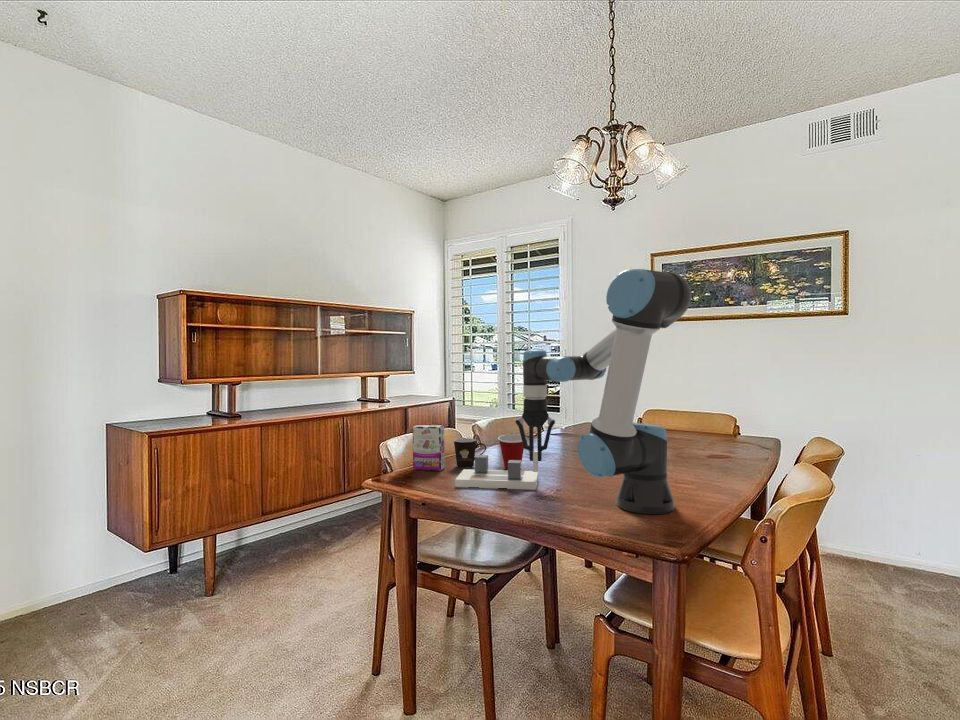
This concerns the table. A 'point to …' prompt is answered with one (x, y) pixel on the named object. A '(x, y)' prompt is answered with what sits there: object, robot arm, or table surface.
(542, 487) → the table surface
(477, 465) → the switch tab far
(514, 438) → the plastic cup
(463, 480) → the switch panel
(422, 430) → the candy bar box
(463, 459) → the coffee mug
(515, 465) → the switch tab near
